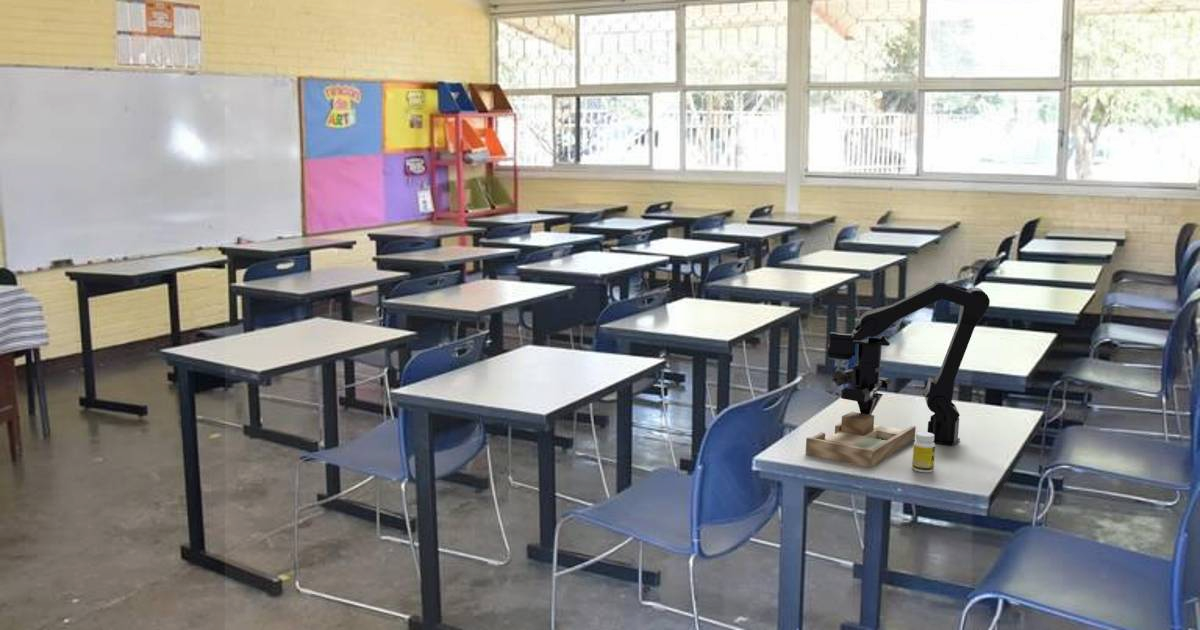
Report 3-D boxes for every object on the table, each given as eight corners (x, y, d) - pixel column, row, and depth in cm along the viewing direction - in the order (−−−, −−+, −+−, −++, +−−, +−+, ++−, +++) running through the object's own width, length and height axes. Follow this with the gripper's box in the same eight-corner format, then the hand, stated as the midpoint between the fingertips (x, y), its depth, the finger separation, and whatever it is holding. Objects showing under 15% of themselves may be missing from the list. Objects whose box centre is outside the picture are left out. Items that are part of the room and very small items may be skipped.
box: (914, 439, 260) (915, 424, 260) (869, 467, 237) (870, 450, 237) (854, 428, 270) (855, 413, 269) (805, 454, 247) (806, 437, 246)
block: (873, 430, 260) (874, 415, 260) (863, 436, 256) (864, 420, 255) (850, 426, 264) (851, 411, 263) (841, 431, 259) (841, 416, 259)
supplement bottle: (934, 473, 234) (937, 437, 232) (912, 472, 235) (915, 436, 233) (932, 467, 238) (934, 432, 237) (910, 465, 239) (913, 430, 238)
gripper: (854, 351, 273) (850, 408, 275) (823, 362, 258) (819, 423, 261) (894, 357, 266) (890, 416, 269) (865, 369, 251) (861, 431, 254)
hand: (865, 421), depth 263 cm, fingers closed
